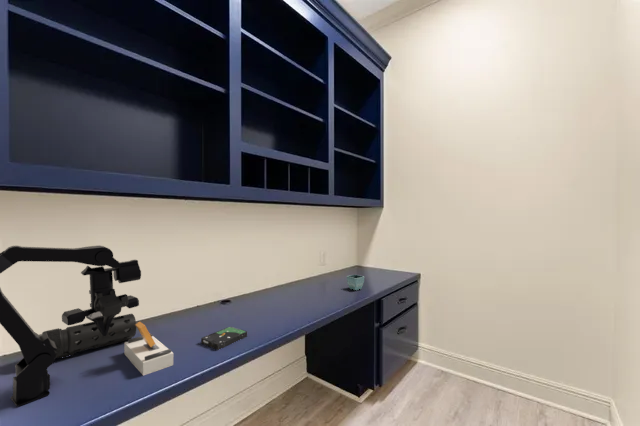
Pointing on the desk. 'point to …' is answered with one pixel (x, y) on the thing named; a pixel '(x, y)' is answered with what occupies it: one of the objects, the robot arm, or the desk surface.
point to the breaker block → (148, 355)
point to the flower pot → (355, 281)
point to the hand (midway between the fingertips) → (104, 335)
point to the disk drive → (223, 337)
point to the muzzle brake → (91, 335)
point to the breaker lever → (145, 334)
